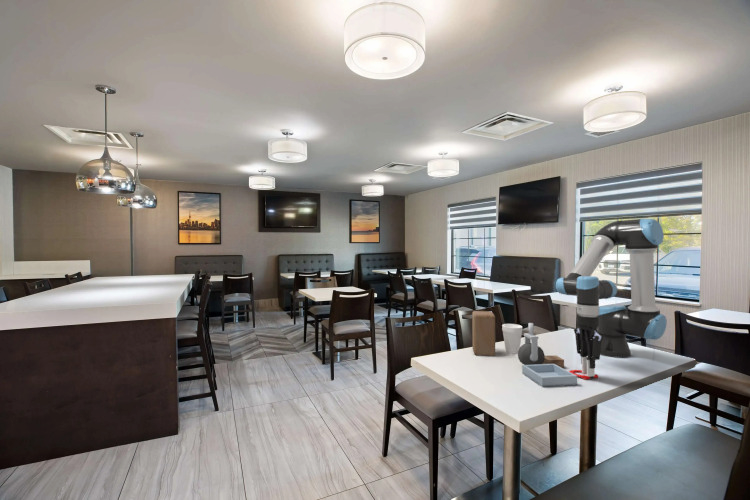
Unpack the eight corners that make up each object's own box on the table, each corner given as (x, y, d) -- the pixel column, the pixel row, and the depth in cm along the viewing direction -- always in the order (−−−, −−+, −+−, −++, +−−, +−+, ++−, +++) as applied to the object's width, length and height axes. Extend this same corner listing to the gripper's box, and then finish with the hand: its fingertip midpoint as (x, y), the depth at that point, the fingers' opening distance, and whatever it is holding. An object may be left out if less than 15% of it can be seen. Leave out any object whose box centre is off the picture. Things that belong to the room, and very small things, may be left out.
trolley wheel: (538, 364, 153) (537, 321, 153) (546, 368, 147) (545, 324, 147) (516, 365, 152) (516, 322, 152) (523, 369, 146) (523, 325, 146)
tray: (554, 372, 144) (554, 363, 144) (577, 385, 130) (577, 375, 130) (522, 373, 142) (522, 365, 142) (542, 387, 128) (542, 377, 128)
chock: (556, 364, 154) (556, 355, 154) (564, 369, 148) (564, 359, 148) (541, 364, 154) (540, 355, 154) (548, 369, 148) (548, 360, 148)
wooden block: (495, 356, 165) (495, 315, 165) (474, 355, 167) (473, 314, 167) (492, 350, 174) (492, 311, 174) (472, 349, 176) (472, 310, 176)
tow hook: (564, 373, 143) (584, 380, 134) (563, 342, 143) (582, 347, 135) (579, 371, 145) (600, 378, 137) (578, 340, 146) (598, 345, 137)
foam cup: (500, 352, 171) (499, 326, 171) (504, 348, 179) (504, 323, 179) (520, 355, 166) (520, 328, 166) (524, 351, 173) (524, 325, 173)
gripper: (566, 312, 143) (566, 368, 143) (593, 319, 128) (593, 382, 128) (583, 311, 144) (583, 368, 144) (611, 318, 129) (611, 381, 129)
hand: (588, 374), depth 136 cm, fingers closed on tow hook, 2 cm apart
